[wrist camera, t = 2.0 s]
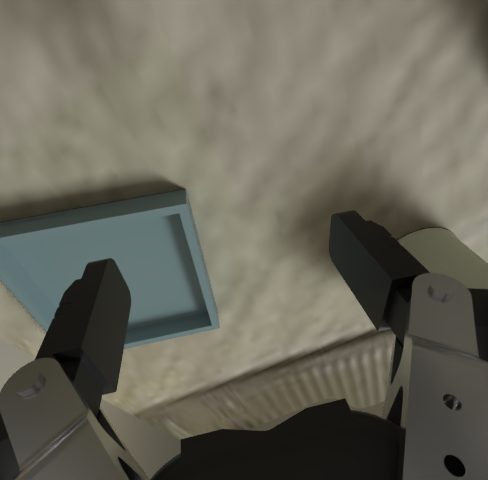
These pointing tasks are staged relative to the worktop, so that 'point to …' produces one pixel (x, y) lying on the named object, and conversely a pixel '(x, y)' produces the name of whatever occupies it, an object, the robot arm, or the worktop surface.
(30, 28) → the worktop surface
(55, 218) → the tray
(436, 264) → the can
